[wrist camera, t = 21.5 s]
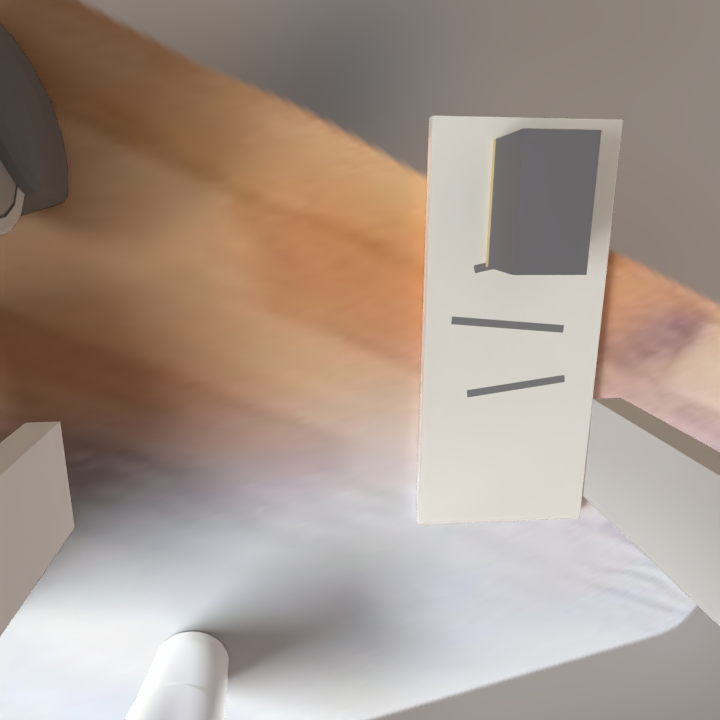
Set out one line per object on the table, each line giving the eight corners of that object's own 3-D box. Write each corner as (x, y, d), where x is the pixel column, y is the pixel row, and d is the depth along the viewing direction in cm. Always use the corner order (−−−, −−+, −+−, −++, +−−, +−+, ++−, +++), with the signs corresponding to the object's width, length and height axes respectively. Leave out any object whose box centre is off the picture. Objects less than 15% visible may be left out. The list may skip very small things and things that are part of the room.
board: (416, 517, 50) (418, 525, 49) (429, 118, 42) (432, 115, 41) (573, 511, 51) (579, 518, 50) (614, 122, 43) (623, 119, 42)
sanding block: (485, 266, 44) (513, 275, 38) (493, 139, 42) (523, 128, 36) (549, 266, 44) (586, 274, 38) (560, 141, 42) (601, 129, 36)
